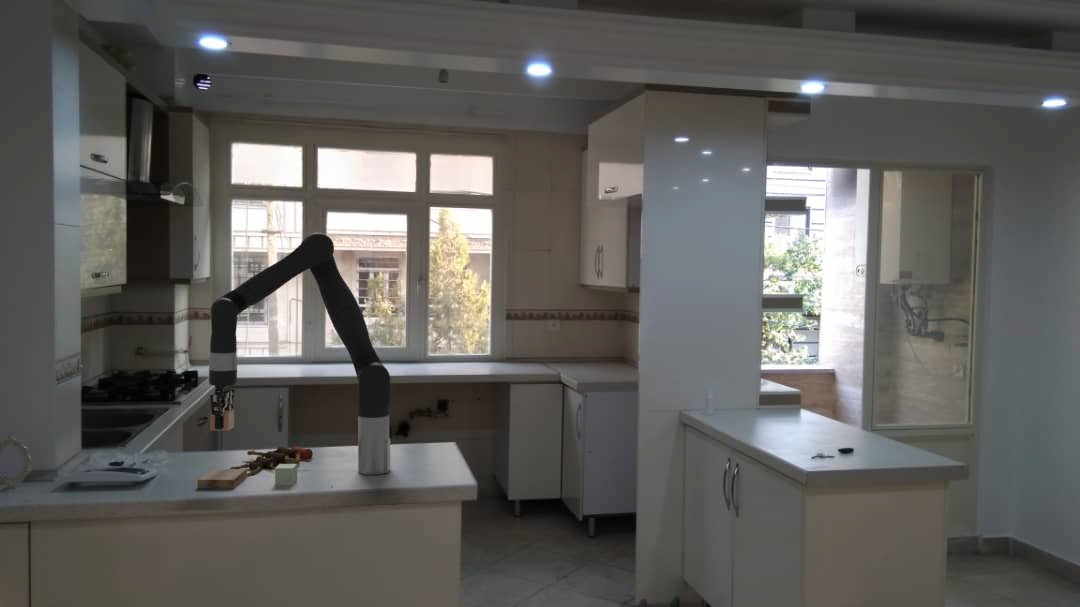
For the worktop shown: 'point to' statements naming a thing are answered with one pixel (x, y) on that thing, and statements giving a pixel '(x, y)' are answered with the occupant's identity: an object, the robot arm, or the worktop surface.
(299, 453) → the toy
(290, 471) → the sage block
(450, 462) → the worktop surface
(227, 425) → the terracotta block
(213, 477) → the base board
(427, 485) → the worktop surface
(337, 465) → the worktop surface
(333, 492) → the worktop surface
